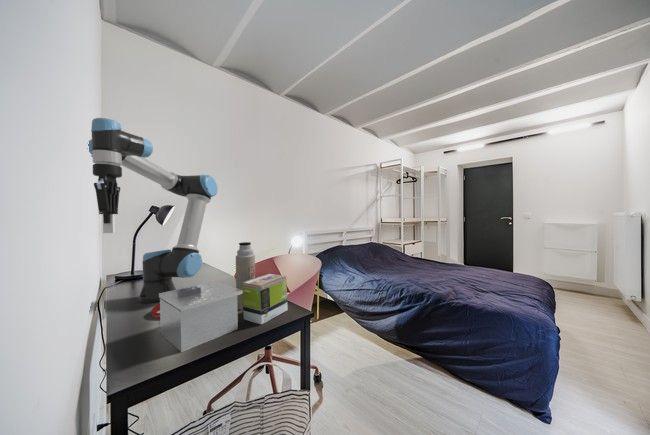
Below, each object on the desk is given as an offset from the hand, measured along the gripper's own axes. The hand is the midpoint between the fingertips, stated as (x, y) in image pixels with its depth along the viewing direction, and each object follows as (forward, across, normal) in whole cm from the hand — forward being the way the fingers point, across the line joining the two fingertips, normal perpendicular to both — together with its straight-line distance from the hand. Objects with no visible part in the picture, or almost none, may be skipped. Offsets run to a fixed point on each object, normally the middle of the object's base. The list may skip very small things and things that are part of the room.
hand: (109, 232), depth 83 cm
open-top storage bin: (+34, +12, +29) cm, 47 cm away
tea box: (+35, +7, +52) cm, 63 cm away
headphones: (+35, -13, +18) cm, 42 cm away
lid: (+22, +12, +30) cm, 39 cm away
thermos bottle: (+35, -6, +45) cm, 57 cm away
